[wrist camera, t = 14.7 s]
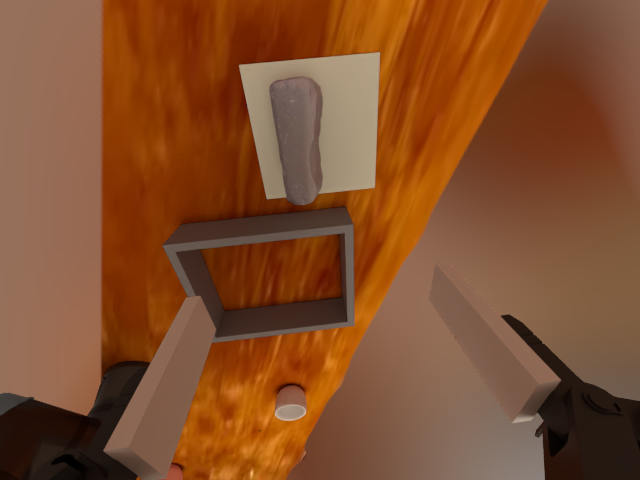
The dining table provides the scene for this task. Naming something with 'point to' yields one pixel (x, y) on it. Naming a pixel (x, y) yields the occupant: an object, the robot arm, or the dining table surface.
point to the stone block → (298, 136)
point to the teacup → (290, 403)
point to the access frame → (256, 230)
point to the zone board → (336, 121)
